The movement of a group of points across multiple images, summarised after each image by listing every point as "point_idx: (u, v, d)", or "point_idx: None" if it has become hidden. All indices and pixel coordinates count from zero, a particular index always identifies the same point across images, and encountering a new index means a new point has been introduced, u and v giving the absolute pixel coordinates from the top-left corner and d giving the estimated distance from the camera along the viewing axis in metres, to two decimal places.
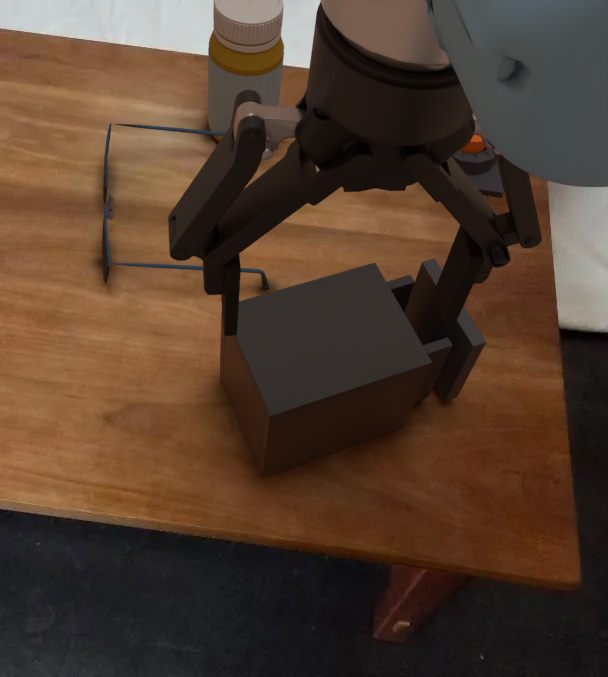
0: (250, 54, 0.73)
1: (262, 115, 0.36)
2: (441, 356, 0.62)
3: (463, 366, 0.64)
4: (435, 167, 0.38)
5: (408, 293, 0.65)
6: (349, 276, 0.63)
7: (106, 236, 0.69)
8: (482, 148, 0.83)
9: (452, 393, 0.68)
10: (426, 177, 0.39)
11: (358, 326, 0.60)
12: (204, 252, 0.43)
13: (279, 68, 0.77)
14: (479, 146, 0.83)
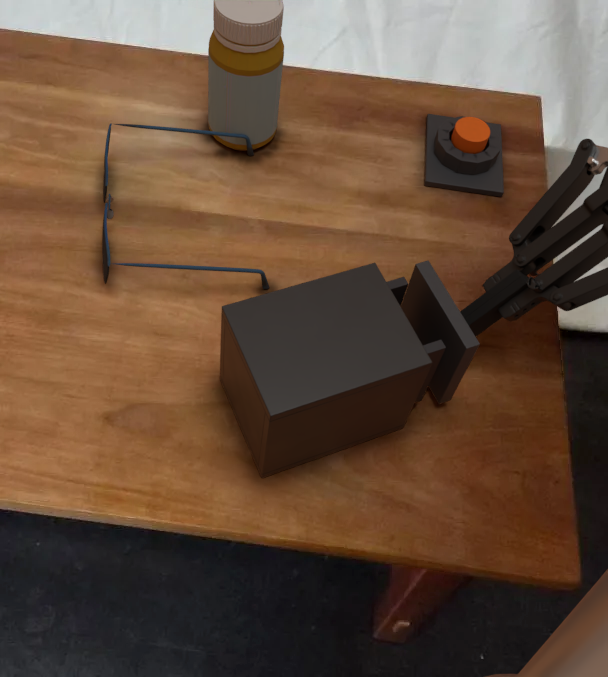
0: (250, 54, 0.73)
1: None
2: (434, 358, 0.62)
3: (457, 368, 0.64)
4: None
5: (402, 295, 0.65)
6: (349, 276, 0.63)
7: (106, 236, 0.69)
8: (482, 148, 0.83)
9: (446, 395, 0.68)
10: None
11: (358, 326, 0.60)
12: None
13: (279, 68, 0.77)
14: (479, 146, 0.83)
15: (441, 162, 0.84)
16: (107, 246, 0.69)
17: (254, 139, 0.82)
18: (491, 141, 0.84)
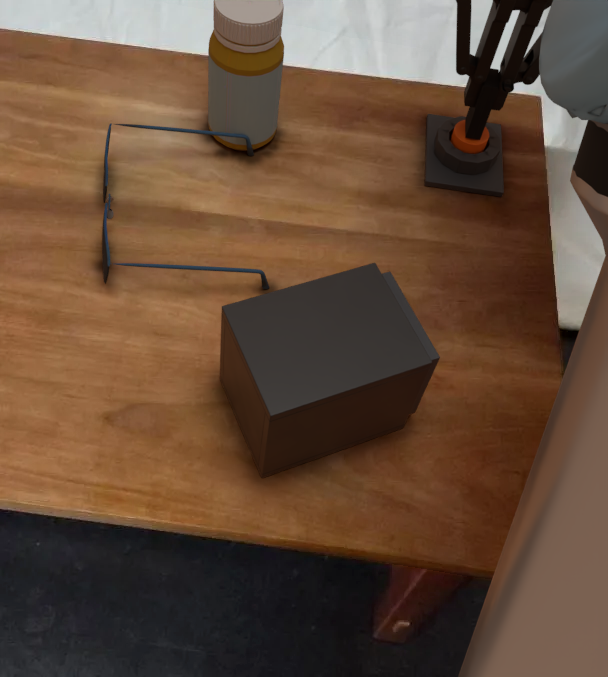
0: (250, 54, 0.73)
1: None
2: None
3: None
4: None
5: None
6: (349, 276, 0.63)
7: (106, 236, 0.69)
8: (481, 151, 0.84)
9: None
10: (536, 4, 0.69)
11: (358, 326, 0.60)
12: (473, 76, 0.77)
13: (279, 68, 0.77)
14: (478, 149, 0.83)
15: (441, 162, 0.84)
16: (107, 246, 0.69)
17: (254, 139, 0.82)
18: (491, 141, 0.84)
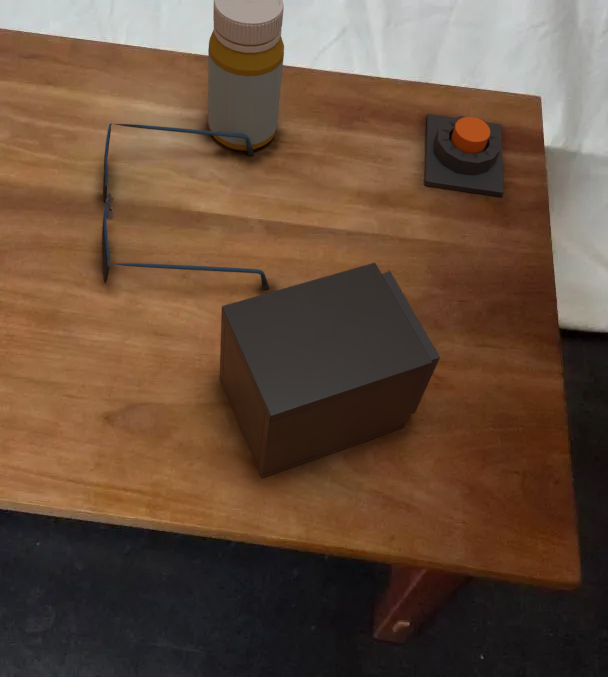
0: (250, 54, 0.73)
1: None
2: None
3: None
4: None
5: None
6: (349, 276, 0.63)
7: (106, 236, 0.69)
8: (482, 148, 0.83)
9: None
10: None
11: (358, 326, 0.60)
12: None
13: (279, 68, 0.77)
14: (479, 146, 0.83)
15: (441, 162, 0.84)
16: (107, 246, 0.69)
17: (254, 139, 0.82)
18: (491, 141, 0.84)
